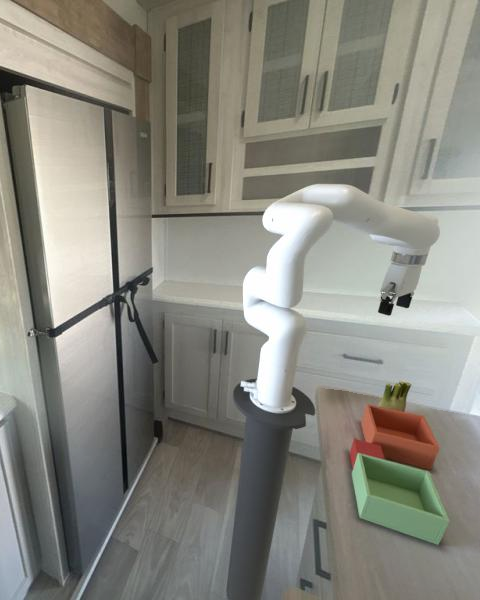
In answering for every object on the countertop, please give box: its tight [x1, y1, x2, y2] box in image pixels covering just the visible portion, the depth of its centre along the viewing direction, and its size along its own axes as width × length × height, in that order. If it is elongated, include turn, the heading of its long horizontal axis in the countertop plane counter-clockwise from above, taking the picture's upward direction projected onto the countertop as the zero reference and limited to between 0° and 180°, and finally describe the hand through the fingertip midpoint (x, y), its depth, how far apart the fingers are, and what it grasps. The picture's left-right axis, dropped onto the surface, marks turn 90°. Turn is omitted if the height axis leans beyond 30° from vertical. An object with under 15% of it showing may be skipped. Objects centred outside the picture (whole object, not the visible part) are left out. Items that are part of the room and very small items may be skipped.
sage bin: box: [351, 453, 451, 546], centre depth 69 cm, size 12×12×7 cm
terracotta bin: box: [360, 403, 440, 471], centre depth 82 cm, size 11×11×7 cm
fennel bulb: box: [377, 380, 412, 412], centre depth 89 cm, size 6×5×12 cm
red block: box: [349, 438, 386, 470], centre depth 78 cm, size 5×5×5 cm
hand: (393, 310), depth 104 cm, fingers open, 9 cm apart
